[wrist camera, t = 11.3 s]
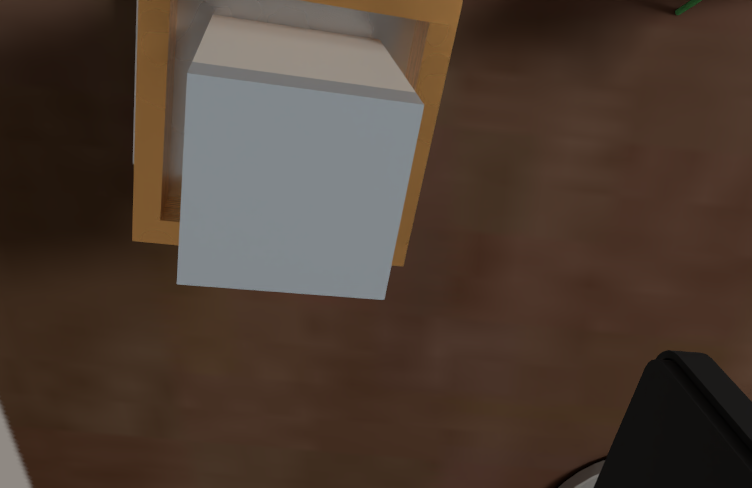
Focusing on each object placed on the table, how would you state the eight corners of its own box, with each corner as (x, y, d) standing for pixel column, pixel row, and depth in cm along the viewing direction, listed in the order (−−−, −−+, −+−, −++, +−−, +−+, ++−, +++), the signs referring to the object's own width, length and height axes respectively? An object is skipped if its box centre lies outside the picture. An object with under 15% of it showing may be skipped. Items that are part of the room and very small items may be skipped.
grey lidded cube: (354, 189, 23) (384, 299, 17) (202, 172, 22) (176, 284, 16) (379, 39, 21) (424, 104, 15) (212, 14, 20) (187, 72, 14)
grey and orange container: (389, 182, 34) (441, 313, 24) (138, 152, 32) (74, 283, 22) (442, -80, 29) (537, -58, 19) (146, -139, 27) (66, -151, 16)
